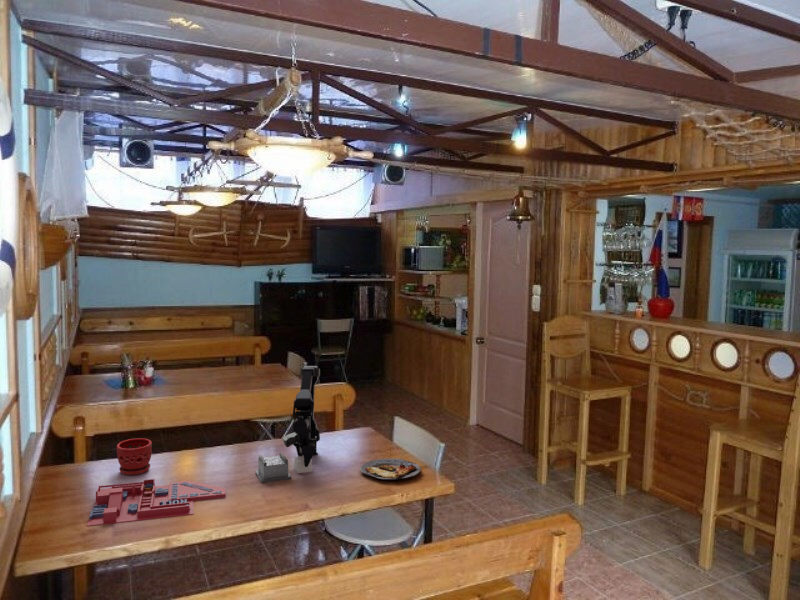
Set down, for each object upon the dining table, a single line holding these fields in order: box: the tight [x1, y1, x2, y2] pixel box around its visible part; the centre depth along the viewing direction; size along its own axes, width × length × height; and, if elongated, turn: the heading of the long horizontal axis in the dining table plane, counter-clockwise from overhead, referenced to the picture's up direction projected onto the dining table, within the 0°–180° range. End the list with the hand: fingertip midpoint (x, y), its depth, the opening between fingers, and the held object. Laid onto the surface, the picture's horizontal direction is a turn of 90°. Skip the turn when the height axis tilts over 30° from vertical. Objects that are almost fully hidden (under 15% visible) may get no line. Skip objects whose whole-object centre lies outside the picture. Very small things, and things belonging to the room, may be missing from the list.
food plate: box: [359, 458, 422, 481], centre depth 255 cm, size 25×23×4 cm
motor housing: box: [254, 452, 292, 484], centre depth 250 cm, size 12×14×8 cm
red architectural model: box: [86, 478, 227, 527], centre depth 222 cm, size 30×45×6 cm
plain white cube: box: [293, 456, 313, 474], centre depth 256 cm, size 6×6×5 cm
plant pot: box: [116, 437, 153, 476], centre depth 250 cm, size 13×13×12 cm
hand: (303, 463), depth 256 cm, fingers open, 9 cm apart
